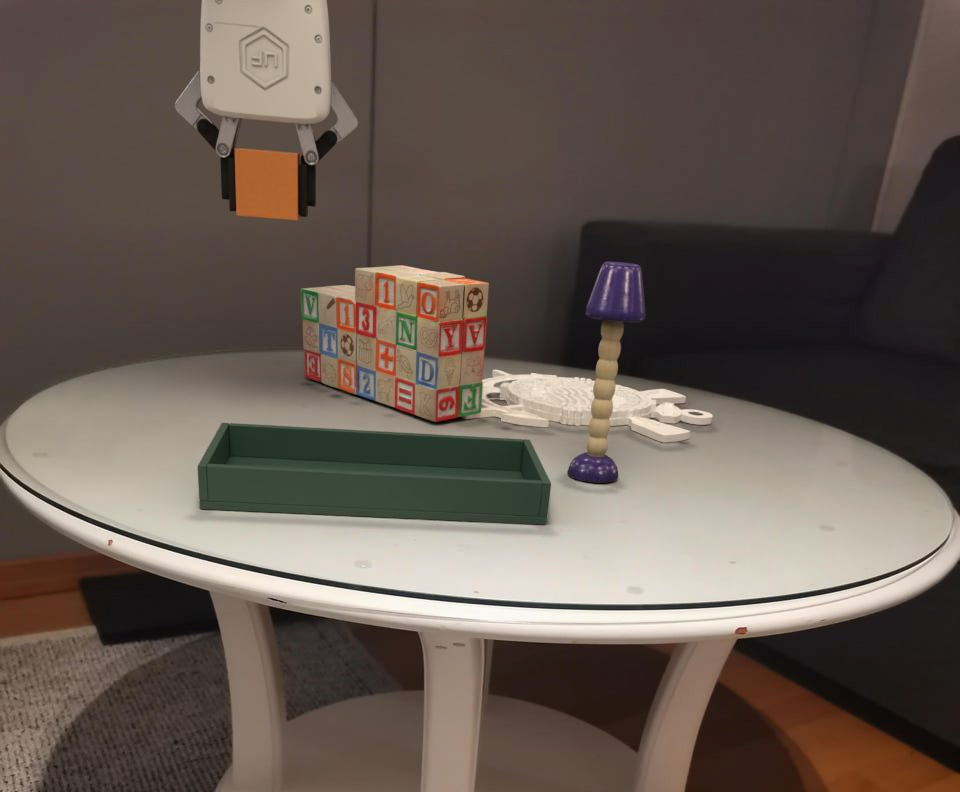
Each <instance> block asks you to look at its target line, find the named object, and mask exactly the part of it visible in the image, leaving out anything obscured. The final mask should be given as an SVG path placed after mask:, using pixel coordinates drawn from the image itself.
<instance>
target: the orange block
mask: <svg viewBox="0 0 960 792" xmlns="http://www.w3.org/2000/svg"><path fill="white" fill-rule="evenodd" d="M301 156H302V154H301V153H300V152H293V151H281V150H268V149H258V148H257V149H256V148H246V147H237V148H235V180H236V211H235V213H236V217H246V218H247V217H248V218H259V219H271V220H272V219H274V220H285V221H299V219H300V218H301V217H300V215H298V166H299V165H300V164H301Z"/></svg>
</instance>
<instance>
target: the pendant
mask: <svg viewBox="0 0 960 792" xmlns="http://www.w3.org/2000/svg"><path fill="white" fill-rule="evenodd" d="M491 374H492V375H491V377H488V378H484V379H482V382H483V390H482V404H481V412H480V413H477V414H472V415H467V416H462V417H460V418H461V419H464V420H469V419H481V418H491V417H496V418H499V419H500V422H503V423H509V424H514V425H519V426H527V427H537V428H549V426H550V425H549V424H550V422H554V423H555V422H556V423H560V424H561V425H569V426H575V427H581V426H589V423H590V420H591V418H592V414H591V404H592V401H593V399H594V398H595V397H594V394H593V386H594V382H595V380H592V379H591V378H586V377H578V376H574V377H564V376H558V375H555V374H541V373H535V372H530V374H512V373H509V372H506V371H503V370H500V369H492V373H491ZM686 399H687V396H686V395H684V394H681V393H679V392H675V391H673V390H668V389H666V388H657V389H656V388H655V389H648V390H640V391H639V390H637V389H634V388H631V387H628V386H623V385H620V384H615V393H614V395H613V397H612V402H613V411H612V414H611V416H610V418H609V419H610V427H616V426H628V427H630V431H633V432H635V433H637V434H640V435H643V436H645V437H647V438H650V439H653V440H655V441H657V442H660V443H663V444H664V443H675V442H681V441H686V440H689V439H690V436H691V430H688V429H684V428H682V427H677V426H675V424H677V423H679V422H682V423H686V424H690V425H699V426H705V425H711V424H712V422H713V416H714V415H713V414H712V413H710V412H708V411H704V410H699V409H692V408H691V409H690V408H689V409H687V408H685V409H680V407H678V406H676V405H675V404H677V405H678V404H685V403H686ZM491 400H499V401H505V402H506V404H507V405H500V404H497V403H495V402H493V401H491ZM651 418H652V419H651ZM654 419H655V420H654ZM671 424H672V425H671ZM673 424H674V425H673Z"/></svg>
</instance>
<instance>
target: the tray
mask: <svg viewBox="0 0 960 792" xmlns="http://www.w3.org/2000/svg"><path fill="white" fill-rule="evenodd" d="M197 484H198V500H199V502H198V503H199V509H200V510H217V511H235V512H236V511H237V512H256V513H257V512H259V513H278V514H279V513H280V514H281V513H282V514H300V515H301V514H303V515H322V516H323V515H324V516H326V515H327V516H347V517H367V518H368V517H370V518H390V519H391V518H392V519H411V520H413V519H415V520H433V521H435V520H436V521H454V522H455V521H457V522H477V523H478V522H479V523H481V522H482V523H503V524H525V525H547V523H548V515H549V506H550V499H551V490H552V482H551V480H550V478H549V475H548V474H547V472H546V470H545V468H544V466H543V464H542V462H541V460H540V458H539V455H538V453H537V451H536V450H535V447H534V445H533V443H532V441H531V440H530V439H525V438H524V439H522V438H509V437H507V438H506V437H492V436H491V437H489V436H488V437H487V436H473V435H471V436H470V435H453V434H451V435H450V434H436V433H433V434H432V433H417V432H400V431H399V432H398V431H381V430H361V429H345V428H329V427H328V428H326V427H310V426H309V427H308V426H307V427H306V426H293V425H291V426H289V425H274V424H273V425H271V424H255V423H253V424H251V423H237V422H236V423H235V422H230V423H229V422H221V423H220V425H219V427H218V429H217V430H216V433H214V436H213V438H212V440H211V441H210V443H209V445H208V447H207V448H206V450H205V452H204V454H203V456H202V457H201V459H200V460H199V463H198V464H197Z"/></svg>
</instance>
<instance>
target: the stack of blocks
mask: <svg viewBox="0 0 960 792" xmlns="http://www.w3.org/2000/svg"><path fill="white" fill-rule="evenodd" d="M489 287H490V284H489V282H487V281H480V280H477V279H476V280H475V279H472V278H471V279H470V278H466V276H465V275H461V274H456V273H450V272H446V271H434V270H430V269H429V270H428V269H422V268H419V267H413V266H408V265H404V264H403V265H400V264H399V265H385V266H373V267H356V268H355V269H354V285H349V284H342V285H326V286H325V285H324V286H318V287H317V286H316V287H305V288H300V314H301V319H302V340H303V341H302V343H303V344H302V347H303V365H304V367H303V368H304V377H305V378H307V379H310V380H312V381H315V382H319V383H322V384H324V385H326V386H329V387H332V388H335V389H339V390H341V391H344V392H346V393H349V394H353V395H355V396H356V395H357V396H358V397H359V396H360V397H363V398H365V399H368V400H371V401H374V402H377V403H380V404H383V405H385V406H388V407H392V408H395V409H397V410H400V411H403V412H404V413H405V412H406V413H408V414H411V415H415V416H417V417H419V418H422V419H425V420H428V421H430V422H434V423H437V422H442V421H448V420H452V419H458V418H461V417H462V416H467V415H472V414H477V413H480V412H481V404H482V390H483V382H482V380H483V378H484V364H485V349H486V344H487V343H486V342H487V335H486V334H487V328H488V327H487V325H488V316H487V315H488V314H487V313H488V303H489V302H488V301H489Z"/></svg>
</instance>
